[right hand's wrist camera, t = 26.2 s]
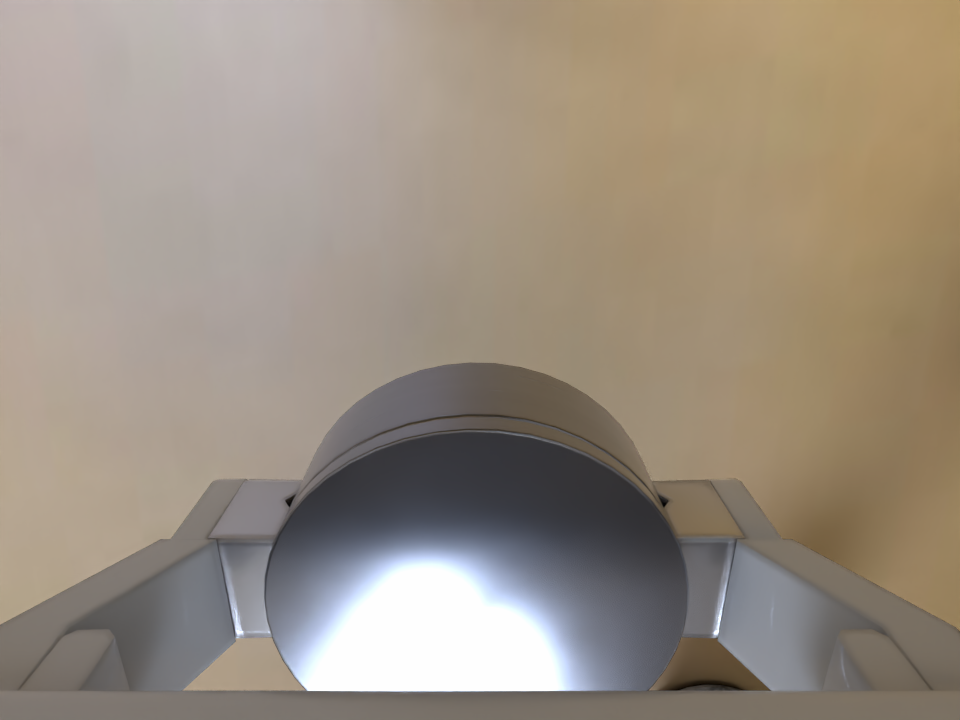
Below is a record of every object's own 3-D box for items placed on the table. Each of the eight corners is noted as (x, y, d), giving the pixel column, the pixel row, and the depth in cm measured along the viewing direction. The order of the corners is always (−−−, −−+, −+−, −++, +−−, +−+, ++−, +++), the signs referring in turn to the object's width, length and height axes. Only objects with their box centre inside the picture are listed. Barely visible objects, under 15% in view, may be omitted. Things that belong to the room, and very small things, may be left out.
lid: (720, 458, 10) (779, 544, 8) (540, 687, 12) (552, 802, 10) (393, 295, 9) (367, 350, 7) (255, 575, 11) (205, 679, 9)
